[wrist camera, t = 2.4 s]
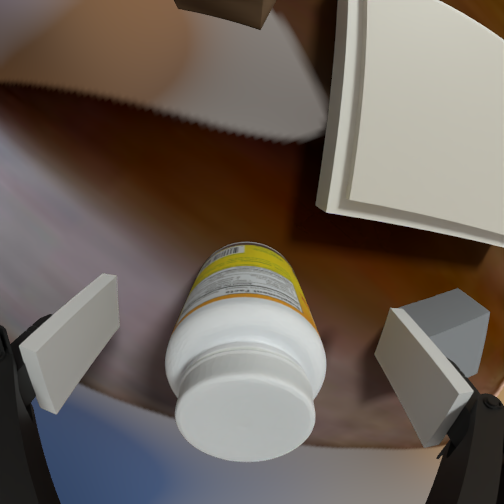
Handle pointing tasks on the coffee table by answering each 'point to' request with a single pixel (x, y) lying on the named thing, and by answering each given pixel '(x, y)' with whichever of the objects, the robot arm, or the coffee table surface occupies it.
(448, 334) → the grey matte cube
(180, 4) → the walnut block
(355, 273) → the coffee table surface
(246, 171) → the coffee table surface
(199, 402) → the supplement bottle
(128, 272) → the coffee table surface
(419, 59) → the podium
